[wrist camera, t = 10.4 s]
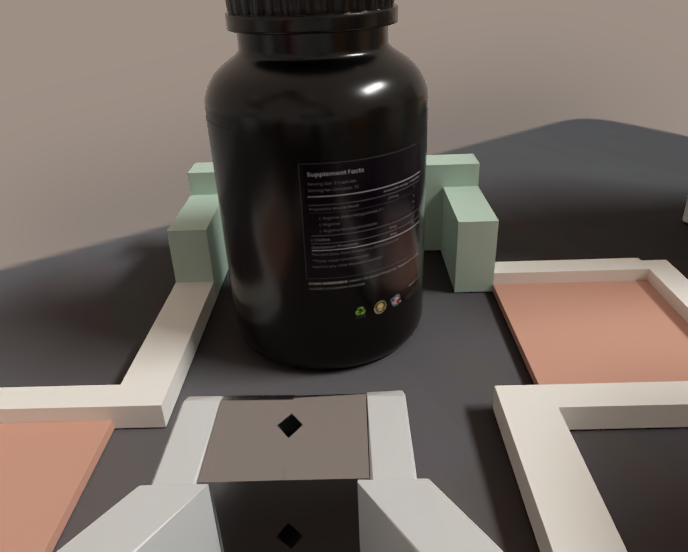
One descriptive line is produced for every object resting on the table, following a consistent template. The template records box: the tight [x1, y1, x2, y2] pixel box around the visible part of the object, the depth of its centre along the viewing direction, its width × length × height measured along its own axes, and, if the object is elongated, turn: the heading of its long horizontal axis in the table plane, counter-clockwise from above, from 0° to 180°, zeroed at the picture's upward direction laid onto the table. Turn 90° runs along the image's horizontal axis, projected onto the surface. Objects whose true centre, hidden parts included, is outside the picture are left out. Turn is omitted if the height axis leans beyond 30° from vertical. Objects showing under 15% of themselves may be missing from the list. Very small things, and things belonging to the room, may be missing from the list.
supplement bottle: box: [205, 0, 428, 370], centre depth 19 cm, size 7×7×12 cm
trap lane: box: [0, 154, 688, 552], centre depth 16 cm, size 26×26×4 cm
